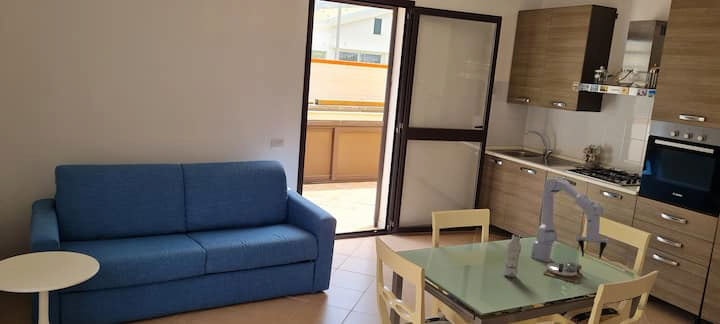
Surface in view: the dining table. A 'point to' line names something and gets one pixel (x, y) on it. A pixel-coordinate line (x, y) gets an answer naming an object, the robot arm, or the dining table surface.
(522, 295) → the dining table surface
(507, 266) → the plastic bottle
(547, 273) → the base board
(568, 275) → the turntable
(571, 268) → the cover
